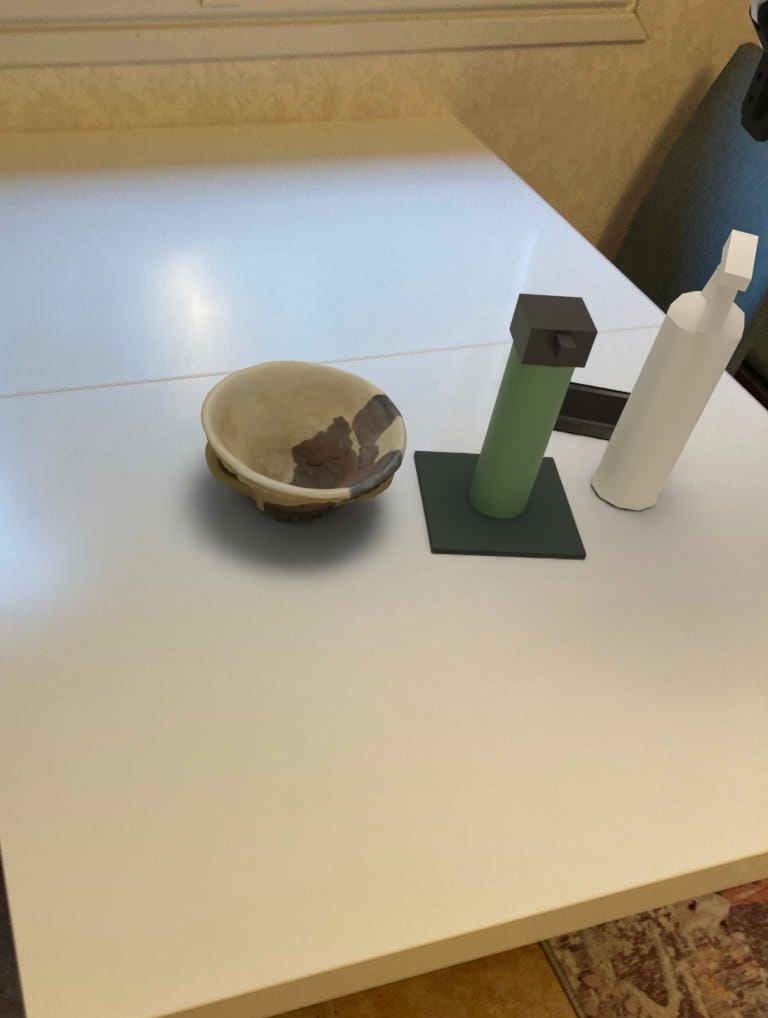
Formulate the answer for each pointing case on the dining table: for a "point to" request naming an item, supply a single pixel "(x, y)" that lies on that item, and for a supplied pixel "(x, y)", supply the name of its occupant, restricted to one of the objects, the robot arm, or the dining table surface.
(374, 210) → the dining table surface
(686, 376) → the white cylindrical bottle
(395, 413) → the bowl
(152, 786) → the dining table surface
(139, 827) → the dining table surface
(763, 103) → the robot arm
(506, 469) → the mister
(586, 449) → the dining table surface
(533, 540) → the mat
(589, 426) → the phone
